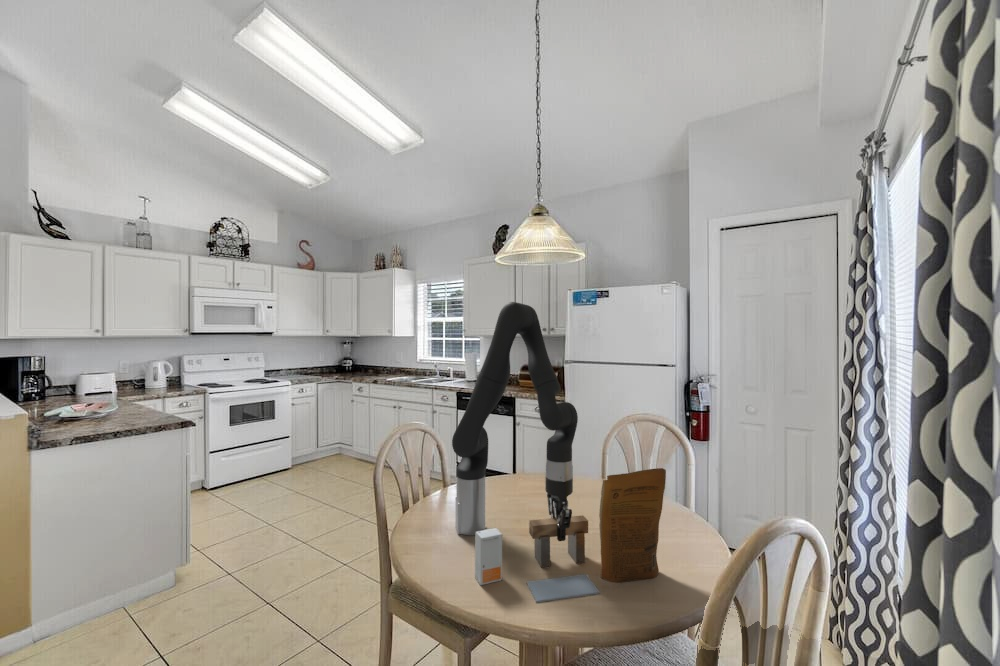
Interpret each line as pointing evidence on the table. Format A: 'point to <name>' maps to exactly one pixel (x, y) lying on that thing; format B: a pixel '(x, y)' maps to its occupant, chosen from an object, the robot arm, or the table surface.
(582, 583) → the mat
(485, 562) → the skincare box
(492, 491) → the table surface
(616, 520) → the pancake mix bag
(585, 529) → the rail
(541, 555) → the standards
